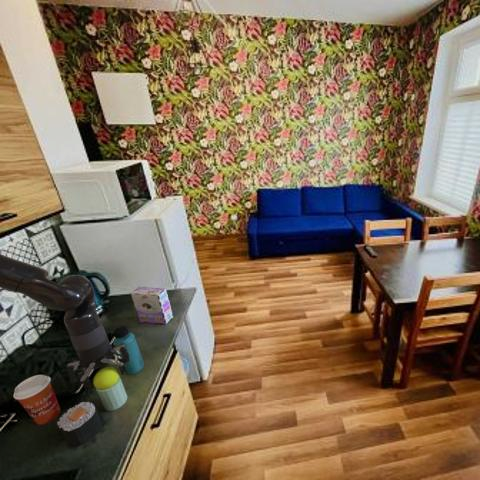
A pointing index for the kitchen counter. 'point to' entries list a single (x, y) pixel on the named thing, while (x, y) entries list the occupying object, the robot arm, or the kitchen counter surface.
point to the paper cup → (38, 398)
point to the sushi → (80, 423)
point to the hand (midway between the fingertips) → (107, 379)
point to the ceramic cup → (113, 396)
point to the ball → (106, 378)
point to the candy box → (152, 305)
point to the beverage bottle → (129, 349)
